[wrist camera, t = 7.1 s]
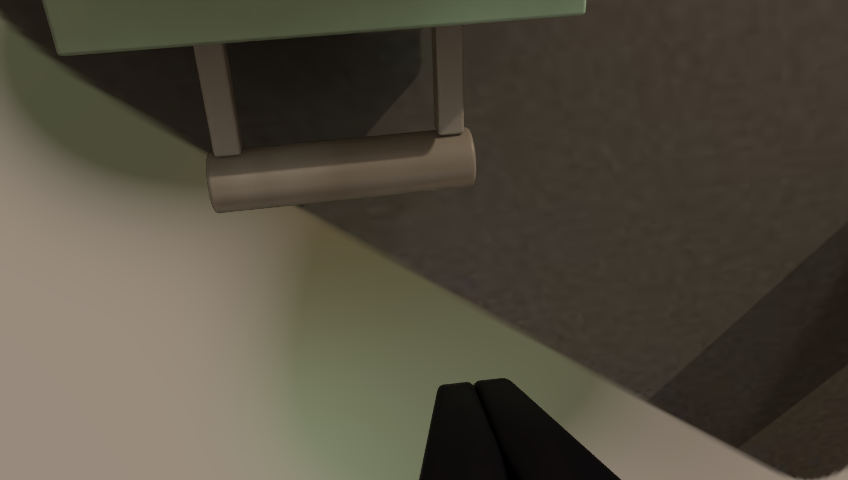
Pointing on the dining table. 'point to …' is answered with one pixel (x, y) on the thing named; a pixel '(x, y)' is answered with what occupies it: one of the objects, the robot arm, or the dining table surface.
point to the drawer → (293, 18)
